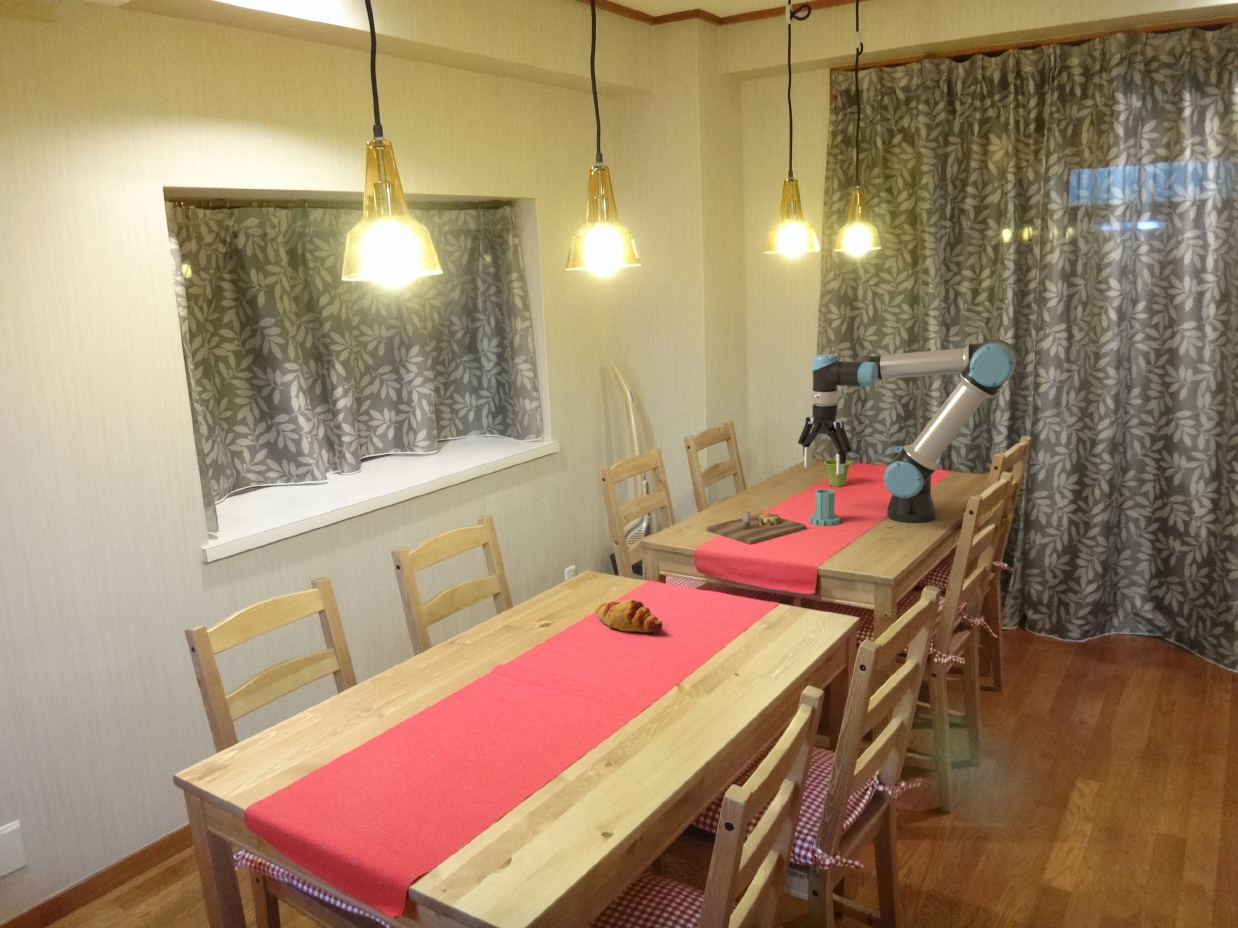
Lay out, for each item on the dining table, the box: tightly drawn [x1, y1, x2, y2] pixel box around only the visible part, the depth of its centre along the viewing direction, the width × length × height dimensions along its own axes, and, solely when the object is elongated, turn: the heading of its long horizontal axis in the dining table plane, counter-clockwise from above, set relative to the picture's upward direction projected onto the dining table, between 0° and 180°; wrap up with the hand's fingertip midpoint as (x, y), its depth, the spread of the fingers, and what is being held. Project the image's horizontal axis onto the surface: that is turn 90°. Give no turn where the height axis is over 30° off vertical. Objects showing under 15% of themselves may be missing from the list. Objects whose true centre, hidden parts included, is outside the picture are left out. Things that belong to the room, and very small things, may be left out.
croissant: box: [595, 598, 663, 633], centre depth 236 cm, size 21×10×8 cm, turn 48°
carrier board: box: [705, 511, 807, 545], centre depth 310 cm, size 20×24×6 cm
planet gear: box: [808, 488, 841, 527], centre depth 315 cm, size 10×10×10 cm
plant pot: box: [823, 458, 852, 488], centre depth 361 cm, size 9×9×9 cm
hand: (823, 470), depth 312 cm, fingers open, 13 cm apart
